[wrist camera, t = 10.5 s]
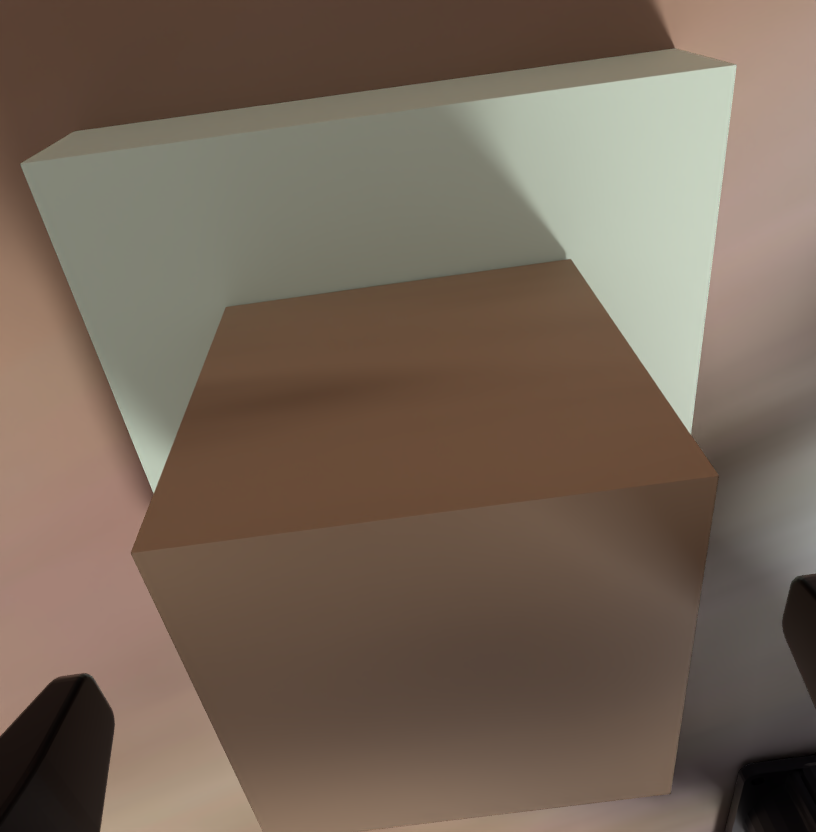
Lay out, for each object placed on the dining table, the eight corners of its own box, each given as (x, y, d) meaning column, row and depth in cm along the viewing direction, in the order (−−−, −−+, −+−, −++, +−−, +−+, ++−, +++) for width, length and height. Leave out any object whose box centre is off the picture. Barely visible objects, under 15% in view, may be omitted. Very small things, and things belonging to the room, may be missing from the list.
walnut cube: (570, 520, 15) (670, 793, 10) (298, 555, 16) (267, 842, 10) (570, 258, 12) (719, 475, 7) (225, 306, 12) (129, 553, 7)
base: (631, 497, 19) (673, 578, 17) (231, 550, 19) (212, 638, 17) (663, 45, 13) (736, 64, 11) (83, 125, 13) (19, 163, 11)
